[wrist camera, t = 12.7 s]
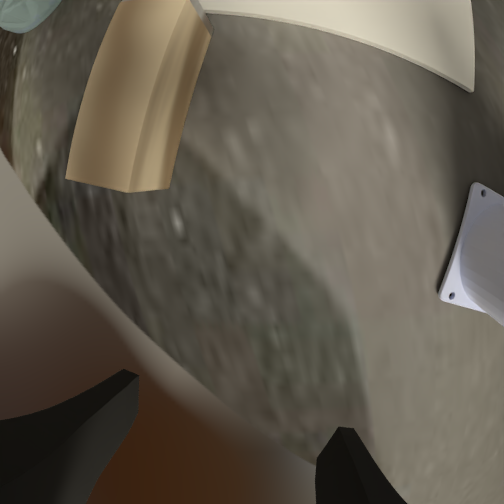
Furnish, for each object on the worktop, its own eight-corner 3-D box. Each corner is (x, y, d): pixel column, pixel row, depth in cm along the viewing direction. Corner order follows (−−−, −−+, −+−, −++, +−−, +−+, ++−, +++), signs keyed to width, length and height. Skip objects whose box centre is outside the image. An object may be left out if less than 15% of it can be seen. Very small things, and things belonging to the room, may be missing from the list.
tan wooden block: (214, 30, 14) (191, -12, 9) (169, 188, 17) (127, 192, 12) (158, 28, 14) (124, -7, 10) (115, 176, 17) (65, 178, 12)
